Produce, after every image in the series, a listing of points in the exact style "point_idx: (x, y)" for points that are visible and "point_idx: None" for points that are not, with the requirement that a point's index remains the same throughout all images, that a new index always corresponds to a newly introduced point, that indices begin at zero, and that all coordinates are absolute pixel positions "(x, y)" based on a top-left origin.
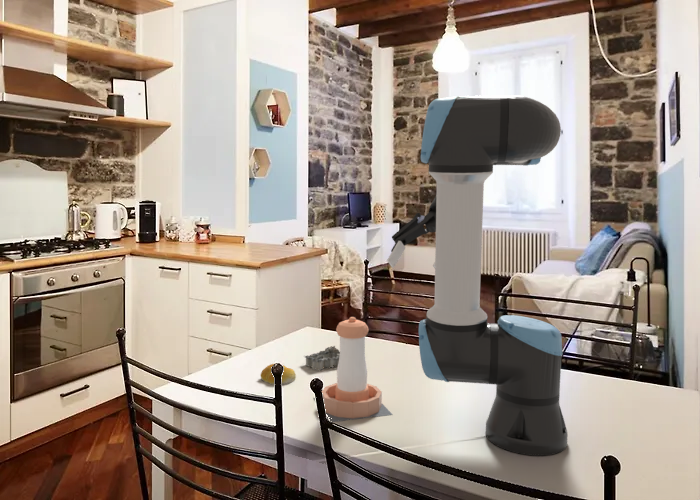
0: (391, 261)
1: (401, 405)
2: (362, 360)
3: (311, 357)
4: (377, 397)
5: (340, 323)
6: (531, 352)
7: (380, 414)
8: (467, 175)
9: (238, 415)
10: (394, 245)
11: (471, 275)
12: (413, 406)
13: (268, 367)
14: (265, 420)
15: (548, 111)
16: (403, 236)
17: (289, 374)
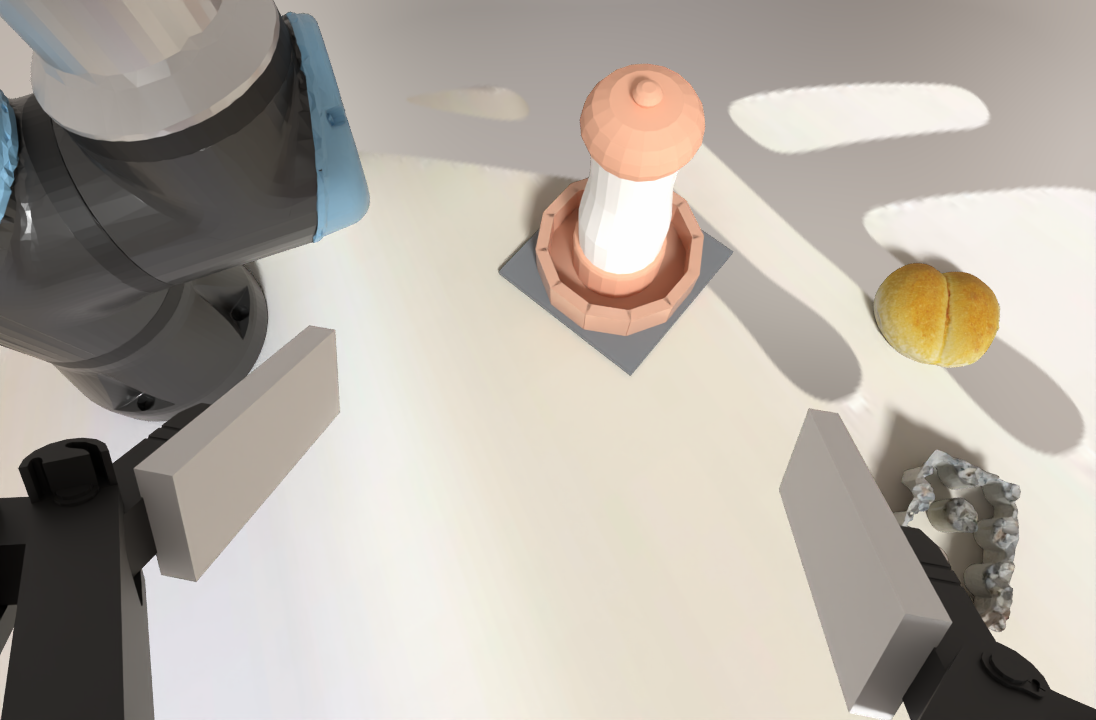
0: (803, 444)
1: (512, 347)
2: (587, 183)
3: (964, 461)
4: (538, 247)
5: (679, 77)
6: None
7: (524, 256)
8: None
9: (803, 99)
10: (966, 602)
11: None
12: (481, 358)
13: (974, 282)
14: (733, 110)
15: None
16: (959, 716)
17: (891, 299)
